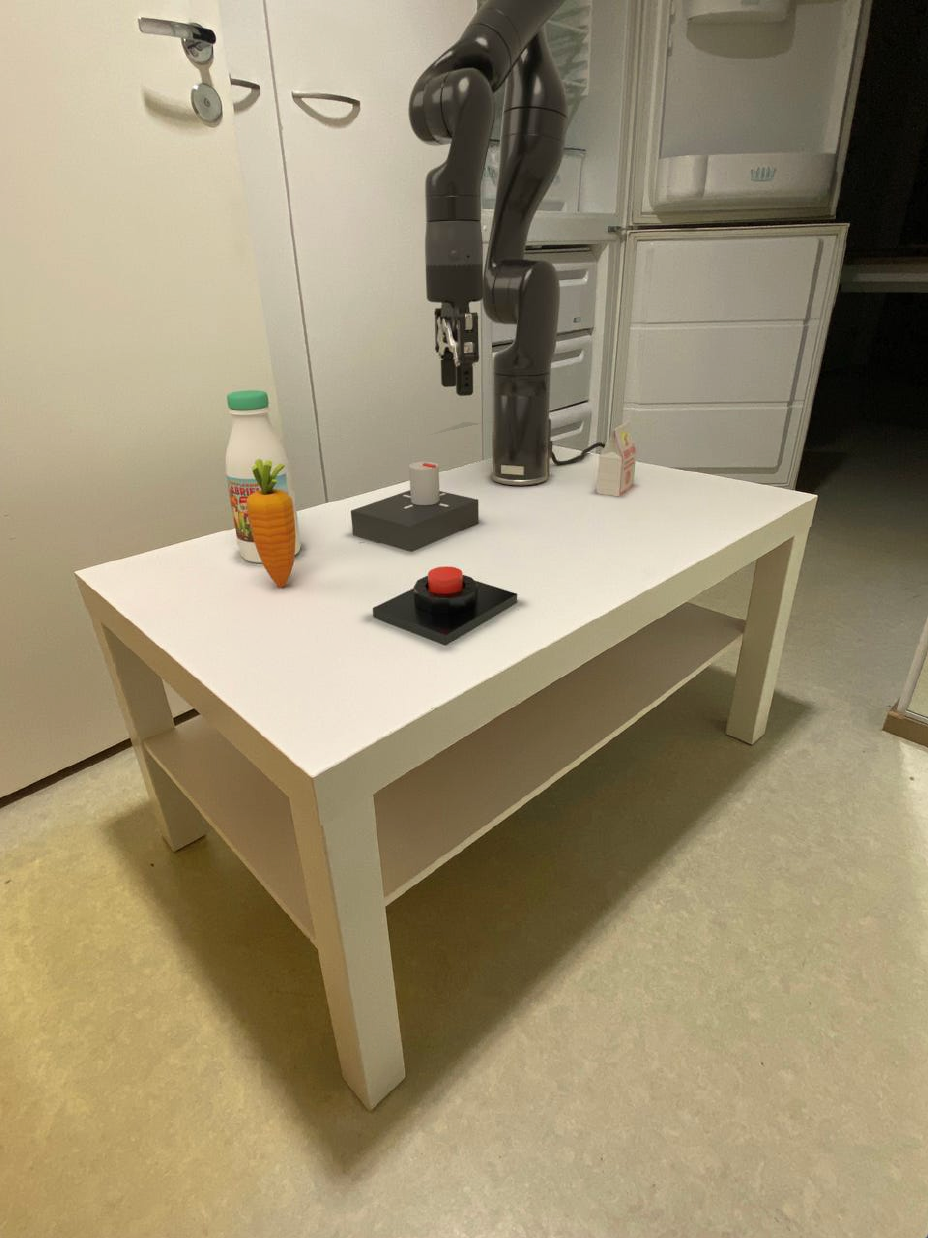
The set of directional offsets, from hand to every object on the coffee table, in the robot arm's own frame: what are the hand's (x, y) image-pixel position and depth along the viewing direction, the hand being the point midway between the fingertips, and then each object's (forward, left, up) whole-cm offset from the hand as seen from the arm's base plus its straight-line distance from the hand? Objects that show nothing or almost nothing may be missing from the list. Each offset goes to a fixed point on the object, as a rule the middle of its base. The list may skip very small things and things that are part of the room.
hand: (456, 390), depth 99 cm
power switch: (+28, +22, -17) cm, 40 cm away
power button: (+28, +22, -14) cm, 39 cm away
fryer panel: (+11, +2, -17) cm, 21 cm away
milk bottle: (+29, -7, -17) cm, 35 cm away
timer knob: (+9, +2, -13) cm, 16 cm away
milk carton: (-22, +15, -17) cm, 31 cm away
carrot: (+35, +3, -17) cm, 39 cm away
